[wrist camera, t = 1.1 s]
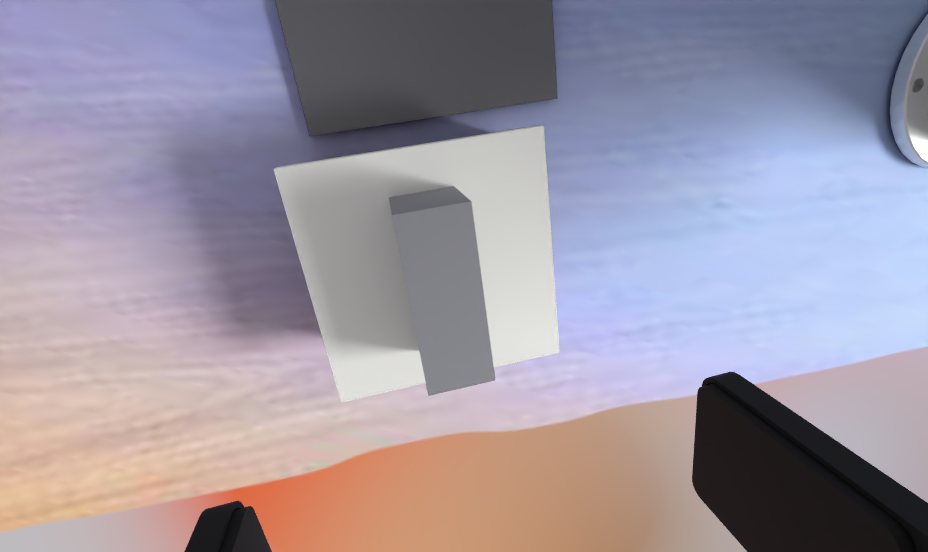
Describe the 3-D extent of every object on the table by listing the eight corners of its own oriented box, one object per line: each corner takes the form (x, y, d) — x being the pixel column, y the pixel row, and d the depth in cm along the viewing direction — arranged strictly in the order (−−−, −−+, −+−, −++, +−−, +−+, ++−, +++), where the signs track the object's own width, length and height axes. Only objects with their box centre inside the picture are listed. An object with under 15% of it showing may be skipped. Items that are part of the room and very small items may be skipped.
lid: (536, 125, 21) (581, 127, 16) (552, 343, 25) (592, 394, 20) (278, 166, 19) (247, 181, 15) (342, 391, 24) (334, 457, 19)
